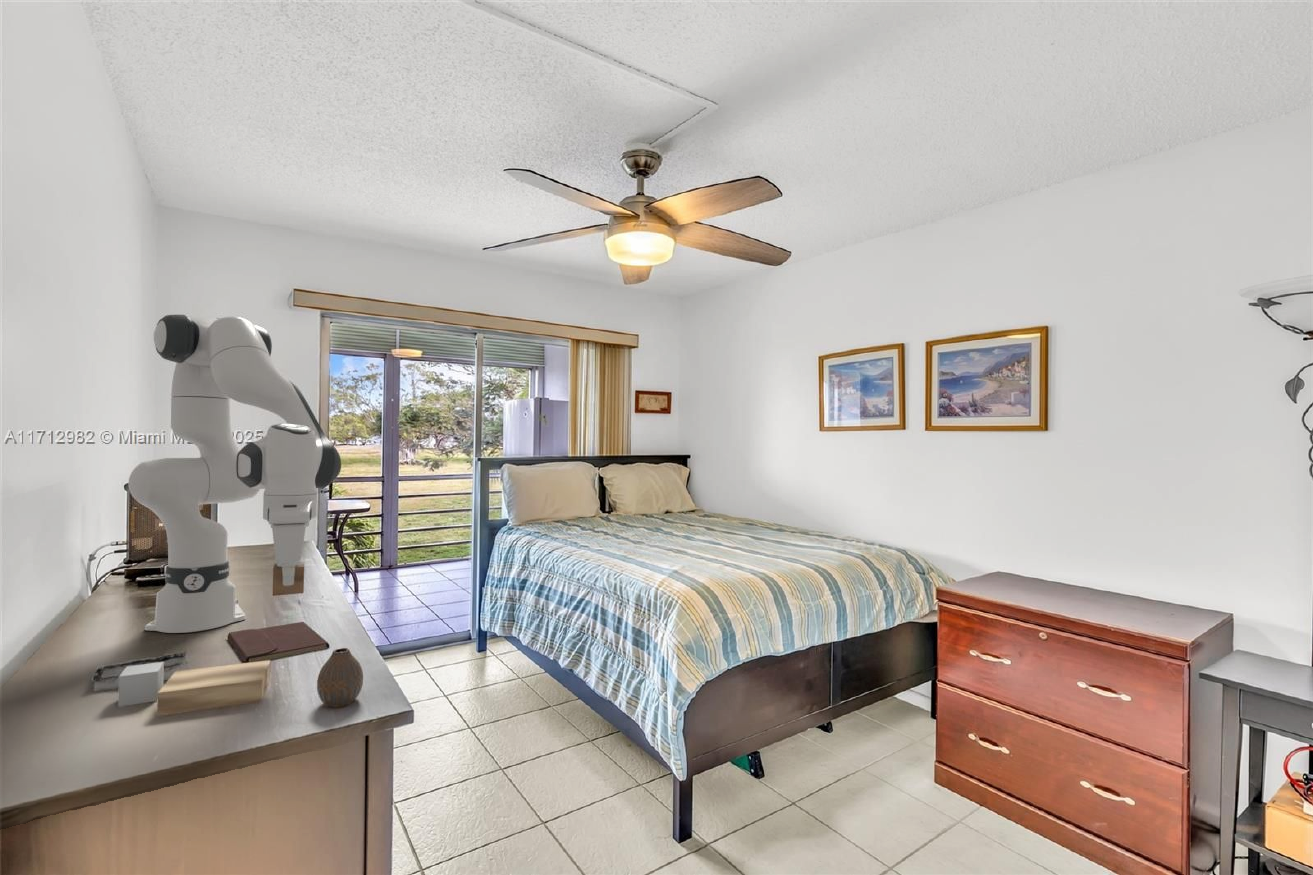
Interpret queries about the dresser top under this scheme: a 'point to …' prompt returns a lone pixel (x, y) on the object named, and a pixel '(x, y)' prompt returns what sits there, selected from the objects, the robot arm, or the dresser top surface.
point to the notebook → (275, 642)
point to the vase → (340, 679)
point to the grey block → (140, 683)
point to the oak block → (214, 687)
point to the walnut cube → (293, 589)
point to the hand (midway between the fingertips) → (288, 581)
